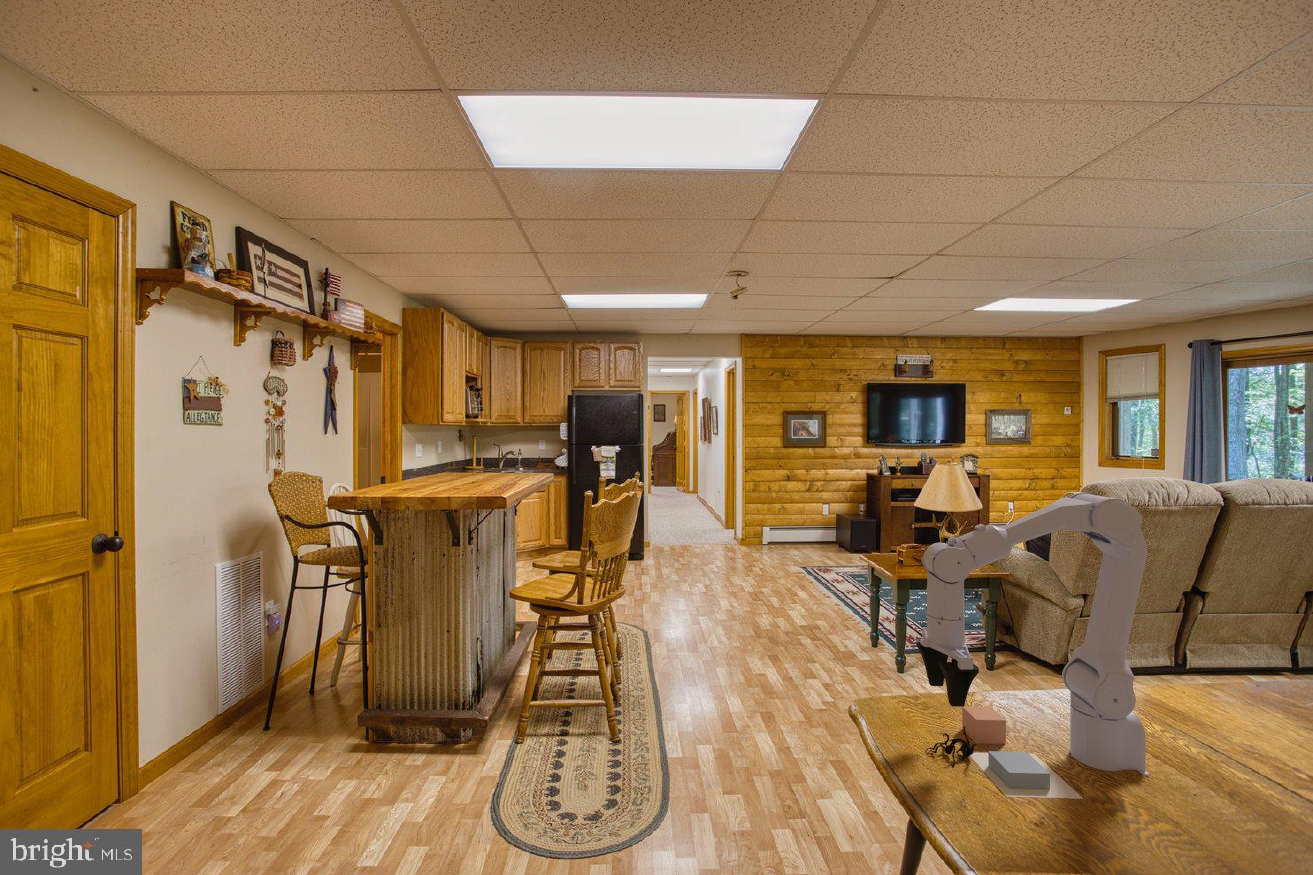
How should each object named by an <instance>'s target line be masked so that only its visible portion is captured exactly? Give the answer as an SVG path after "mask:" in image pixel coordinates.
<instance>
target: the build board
mask: <svg viewBox="0 0 1313 875" xmlns="http://www.w3.org/2000/svg"><path fill="white" fill-rule="evenodd" d="M1028 754H1029V755H1031V756H1032V757H1033V758H1034V759H1035V760H1036V761H1037V762H1038V763H1039V764H1040V765H1041V766H1042V767H1043V768H1045V769H1046V770H1047V771H1048V772H1049V773H1050V790H1047V789H1009V788H1008V787H1007V786H1006V785H1005V784H1004V782H1003V781H1002V780H1001V779H1000V778H999V777H998V776H997V775H996V774H995V773H994V772H993V770H992V769H991V768H990V767H989V766H988V752H974V751H973V754H972V755H970V756H969V757H970V758H971V759H972V760H973V761H974V763H976V765H977V767H979V768H980V769H981V770H982V771H983V773H984V774H985V775H986V776H987V777H988V778H989V779H990V781H991V782H992V783H993V784H994V785H995V786H996V787H997V788H998V789H999V790H1000V792H1001V793H1002V795H1004V796H1005V797H1006V798H1034V799H1035V798H1036V799H1040V798H1041V799H1073V800H1074V799H1075V800H1077V799H1078V800H1083V799H1084V798H1083V796H1081V795H1080V794H1079V792H1077V791H1076V790H1075V789H1074V788H1073V787H1071V786H1070V784H1068V783H1067V782H1066V781H1065V780H1064V779H1062V778H1061V777H1060V776H1059V775H1058V773H1056V772H1055V771H1054V770H1053V769H1052V768H1051V767H1050V766H1048V765H1047V764H1046V763H1045V762H1044V761H1043V760H1042V759H1041V758H1040V757H1039V756H1038V755H1036V754H1035V753H1028Z"/></svg>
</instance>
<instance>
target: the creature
mask: <svg viewBox="0 0 1313 875" xmlns="http://www.w3.org/2000/svg"><path fill="white" fill-rule="evenodd" d="M965 727H966V726H964V727H963V729H962V731H963V735H964V737H965V740H964V739H962V738H957V737H956V738H952V739H950V735H949V734H948V733H946V732H945V733H944V732H942V731H940V733H941V735H942V736H943V739H944V742H937V743H935V744H934V745H933V747H927V748H926V749H925V751H924V753H926V755H928V754H929V753H930V752H931V753H932V754H936V753H937V752H938V749H939V748H940V747H941V748H943V750H944V753H945V754H946V755H952V756H951V757H952V762H953V763H952V766H951V768H952V769H953V768H955V765H956V759H955V753H958V752H961V753H962V758H961V760H960V761H961V762H964V759H967V758H969V757H970V755H972V754H973V752H974V750H975V746H978V744H976V743H972V744H971V743H970V739H969V736H968V734H967V733H966V732H965ZM945 737H946V740H945ZM949 742H950V743H949ZM948 743H949V744H948ZM957 743H962V744H961V745H960V747H959V749H958V750H957V751H956V747H955V745H956V744H957ZM947 744H948V745H947Z"/></svg>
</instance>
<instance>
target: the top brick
mask: <svg viewBox="0 0 1313 875" xmlns="http://www.w3.org/2000/svg"><path fill="white" fill-rule="evenodd" d="M961 709H962V714H961V716H962V717H961V720H962V721H961V723H962V726H961V728H962V730H963V727H964V726H966V727H965V732H966V735H967V736H968V738H970V739H971V740H972V741H973V742H974V744H977V745H978V744H979V745H981V744H985V745H1006V744H1007V742H1006V741H1007V720H1006V719H1005V718H1004V717H1003V716H1002V715H1001V714H999V712H997V710H995V709H994V708H993V707H991V706H973V705H972V706H970V705H969V706H967V705H966V706H965V705H964V707H962V708H961Z"/></svg>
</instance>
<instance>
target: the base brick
mask: <svg viewBox="0 0 1313 875" xmlns="http://www.w3.org/2000/svg"><path fill="white" fill-rule="evenodd" d="M987 753H988V766H989V767H990V768H991V769H992V770H993V772H994V773H995V774H996V775H997V776H998V777H999V778H1000V779H1001V780H1002V781H1003V782H1004V784H1005V785H1006V786H1007V787H1008V788H1009V789H1047V790H1050V773H1049V772H1048V771H1047V770H1046V769H1045V768H1043V767H1042V766H1041V765H1040V764H1039V763H1038V762H1037V761H1036V760H1035V759H1034V758H1033V757H1032V756H1031V755H1029V754H1030V753H1028V751H997V750H996V751H994V750H989V751H988V752H987Z"/></svg>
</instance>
